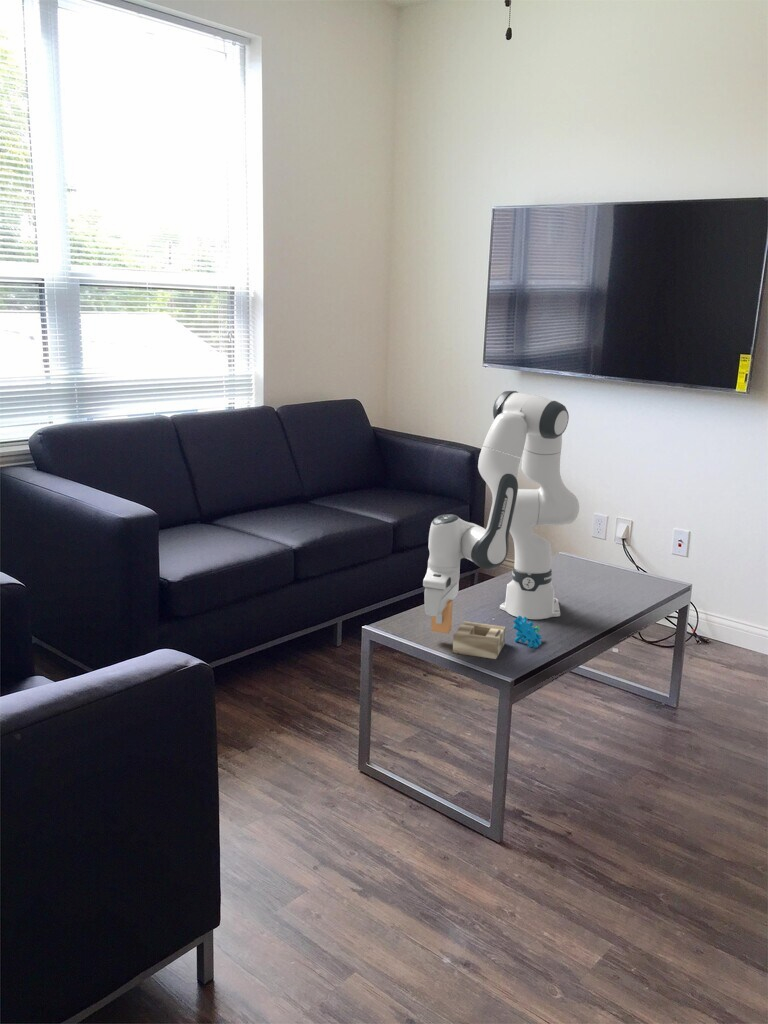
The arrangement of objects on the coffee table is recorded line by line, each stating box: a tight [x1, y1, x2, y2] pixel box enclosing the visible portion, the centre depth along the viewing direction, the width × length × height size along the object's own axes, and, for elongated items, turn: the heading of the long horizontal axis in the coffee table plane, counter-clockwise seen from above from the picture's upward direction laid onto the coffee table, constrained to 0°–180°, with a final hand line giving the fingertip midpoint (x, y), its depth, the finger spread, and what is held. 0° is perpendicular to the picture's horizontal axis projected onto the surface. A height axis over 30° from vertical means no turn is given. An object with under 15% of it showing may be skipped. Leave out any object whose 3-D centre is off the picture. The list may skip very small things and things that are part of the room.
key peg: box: [430, 599, 454, 635], centre depth 242 cm, size 3×5×9 cm, turn 69°
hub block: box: [452, 620, 507, 660], centre depth 239 cm, size 12×12×5 cm
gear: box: [513, 616, 542, 649], centre depth 244 cm, size 11×6×10 cm
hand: (441, 620), depth 242 cm, fingers closed on key peg, 3 cm apart
